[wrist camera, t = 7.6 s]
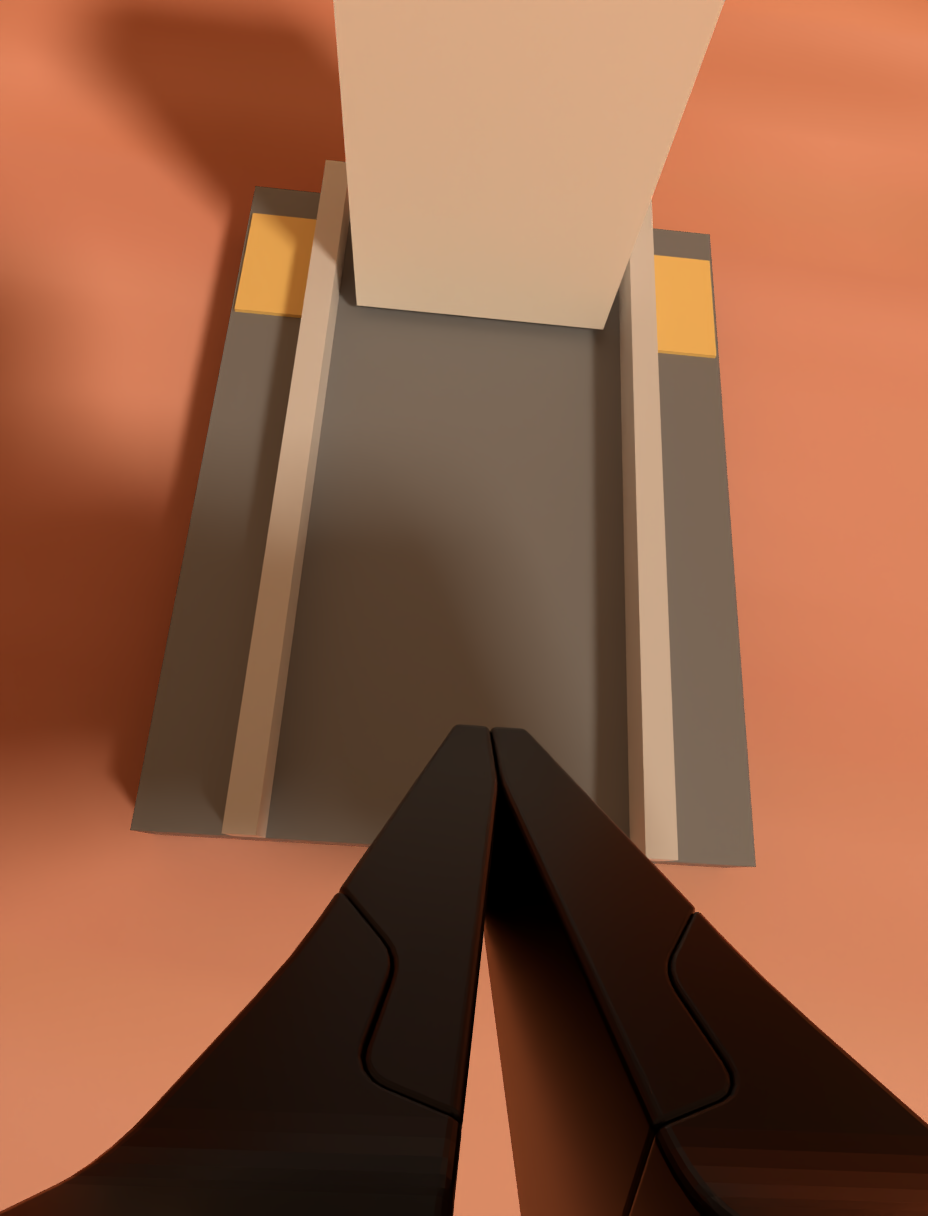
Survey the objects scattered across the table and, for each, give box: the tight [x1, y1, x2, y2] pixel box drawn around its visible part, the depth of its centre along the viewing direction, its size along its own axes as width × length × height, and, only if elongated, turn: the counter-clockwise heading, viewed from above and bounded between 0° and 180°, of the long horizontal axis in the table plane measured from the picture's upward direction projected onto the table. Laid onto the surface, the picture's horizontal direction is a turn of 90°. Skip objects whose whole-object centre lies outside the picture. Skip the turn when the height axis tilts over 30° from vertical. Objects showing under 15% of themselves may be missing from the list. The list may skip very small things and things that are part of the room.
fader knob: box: [333, 0, 725, 330], centre depth 14 cm, size 3×6×11 cm, turn 87°
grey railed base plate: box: [130, 160, 756, 868], centre depth 17 cm, size 16×12×2 cm
